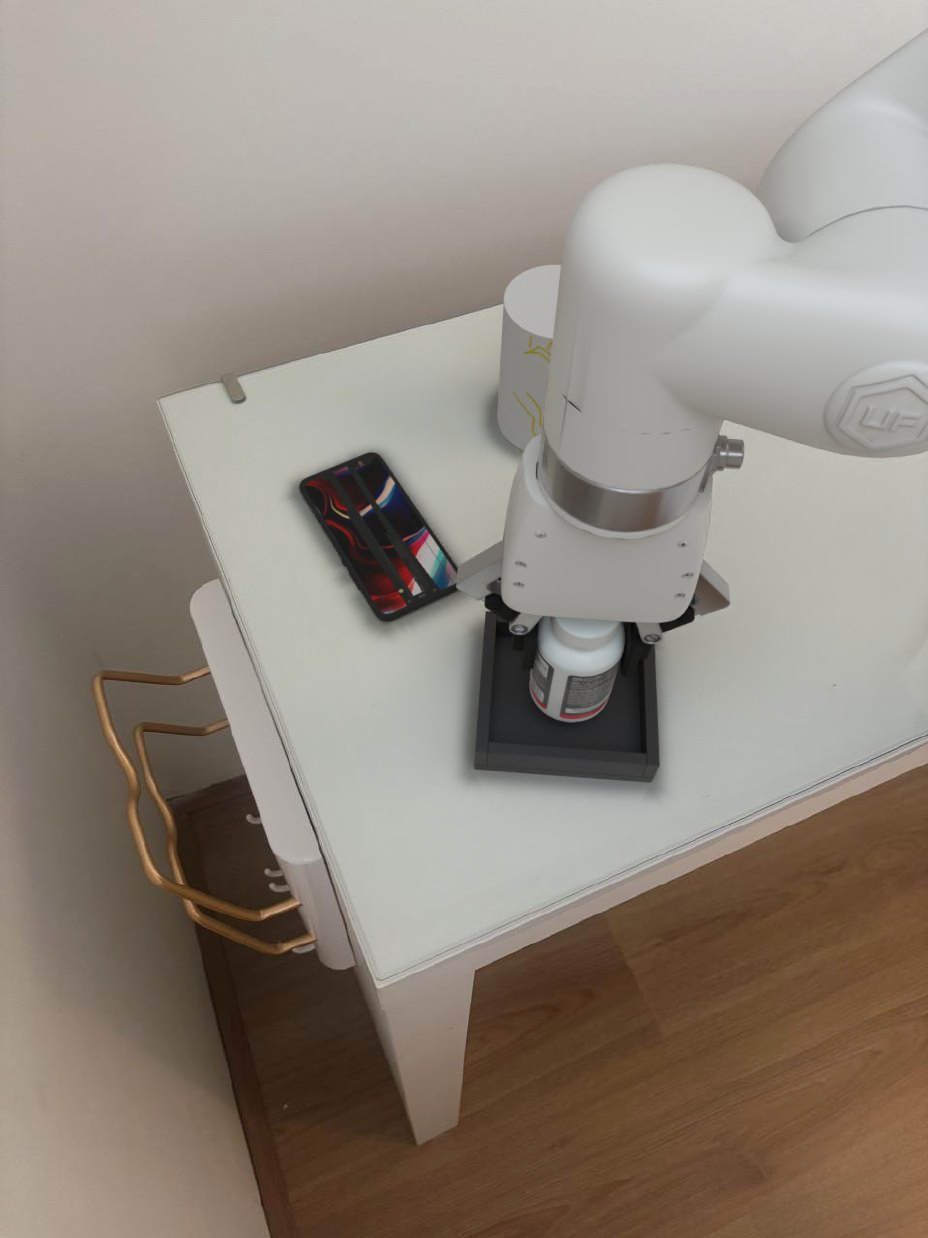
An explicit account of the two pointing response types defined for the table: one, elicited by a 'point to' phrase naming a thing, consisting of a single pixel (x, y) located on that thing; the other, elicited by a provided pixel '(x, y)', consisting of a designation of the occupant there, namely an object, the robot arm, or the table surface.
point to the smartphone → (380, 536)
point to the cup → (526, 352)
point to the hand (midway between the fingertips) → (577, 652)
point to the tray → (548, 746)
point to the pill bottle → (575, 666)
